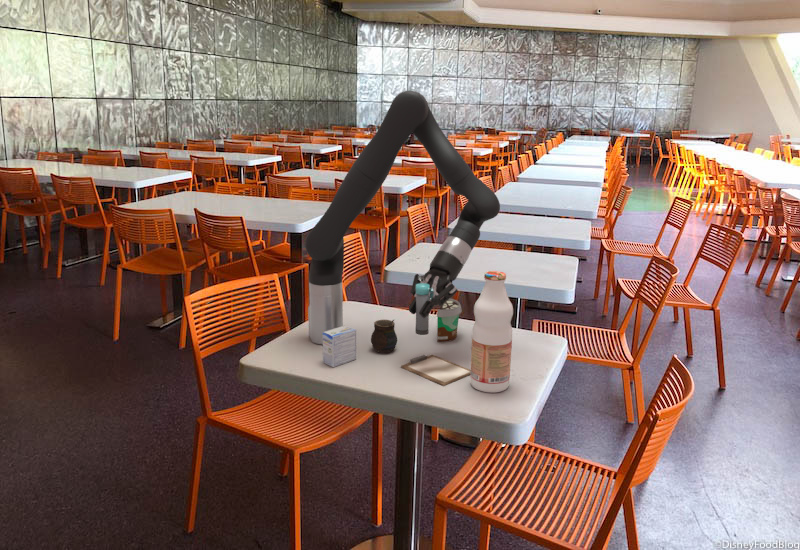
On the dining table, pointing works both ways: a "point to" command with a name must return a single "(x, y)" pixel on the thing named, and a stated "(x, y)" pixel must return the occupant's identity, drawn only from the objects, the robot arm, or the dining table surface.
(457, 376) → the clipboard
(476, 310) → the fruit juice
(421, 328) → the ball
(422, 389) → the dining table surface
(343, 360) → the medicine box
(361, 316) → the dining table surface
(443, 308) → the food container
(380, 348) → the mate gourd
